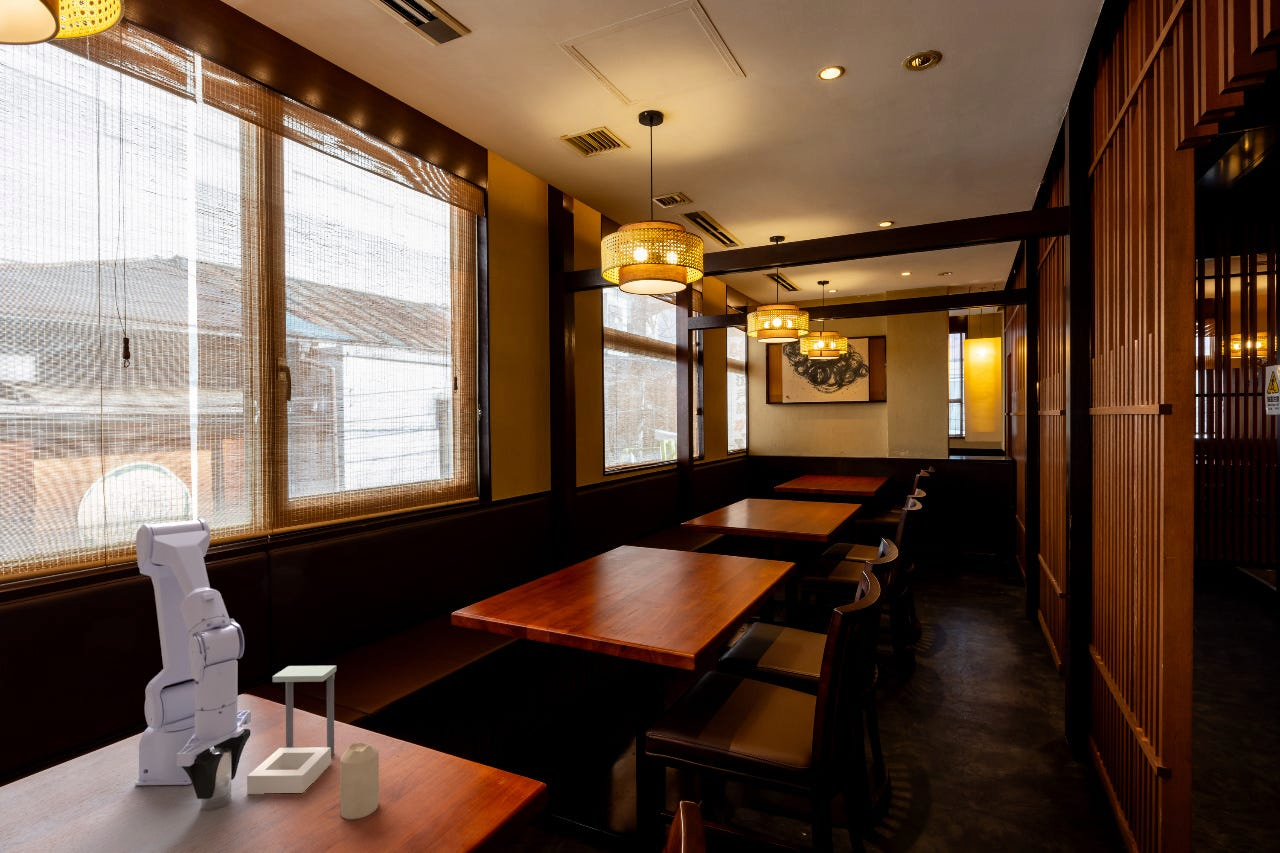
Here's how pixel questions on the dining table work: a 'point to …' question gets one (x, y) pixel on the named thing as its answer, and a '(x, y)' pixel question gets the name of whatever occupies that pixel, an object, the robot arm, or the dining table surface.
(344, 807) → the candle
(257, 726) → the dining table surface
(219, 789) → the peg
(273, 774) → the socket block
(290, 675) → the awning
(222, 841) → the dining table surface
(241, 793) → the dining table surface
